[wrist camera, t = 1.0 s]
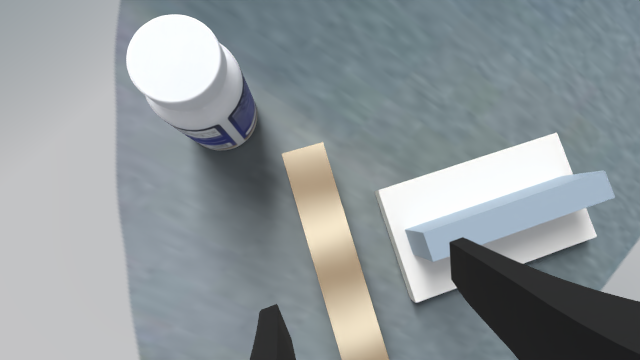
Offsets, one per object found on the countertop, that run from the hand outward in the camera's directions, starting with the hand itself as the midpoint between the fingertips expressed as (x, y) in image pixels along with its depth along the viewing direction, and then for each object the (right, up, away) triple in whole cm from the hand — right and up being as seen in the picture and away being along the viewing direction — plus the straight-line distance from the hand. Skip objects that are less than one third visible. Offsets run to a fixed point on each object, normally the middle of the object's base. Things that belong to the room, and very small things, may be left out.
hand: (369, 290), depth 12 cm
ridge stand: (+11, +1, +14) cm, 18 cm away
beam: (-1, -2, +13) cm, 13 cm away
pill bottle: (-10, +9, +13) cm, 19 cm away
